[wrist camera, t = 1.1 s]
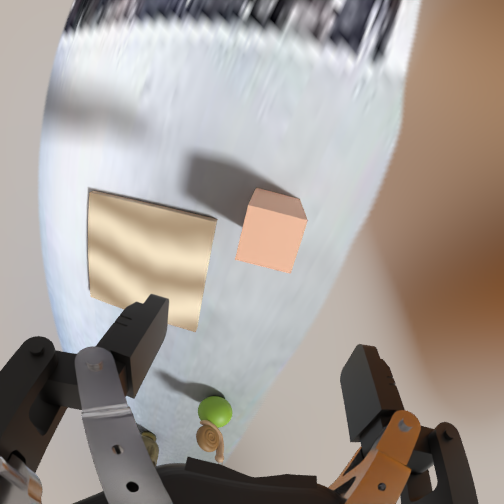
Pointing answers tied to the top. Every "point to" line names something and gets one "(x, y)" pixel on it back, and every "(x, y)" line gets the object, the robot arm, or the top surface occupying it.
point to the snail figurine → (213, 424)
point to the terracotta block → (272, 230)
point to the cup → (151, 446)
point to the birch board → (148, 255)
